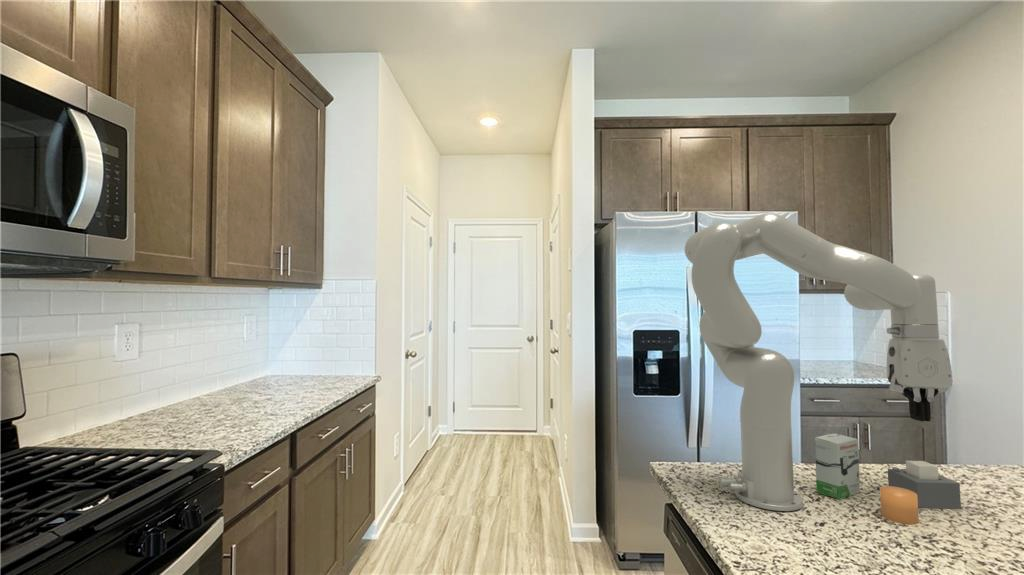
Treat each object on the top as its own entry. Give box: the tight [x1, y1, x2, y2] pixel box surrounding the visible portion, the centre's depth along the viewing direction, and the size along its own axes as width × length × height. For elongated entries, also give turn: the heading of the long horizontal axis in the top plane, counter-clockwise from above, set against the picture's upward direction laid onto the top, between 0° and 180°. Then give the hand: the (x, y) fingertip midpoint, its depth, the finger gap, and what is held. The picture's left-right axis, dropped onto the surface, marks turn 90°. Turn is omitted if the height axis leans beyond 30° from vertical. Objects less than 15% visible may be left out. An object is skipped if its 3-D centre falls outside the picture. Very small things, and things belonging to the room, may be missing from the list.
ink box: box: [814, 433, 861, 500], centre depth 100 cm, size 9×5×12 cm, turn 117°
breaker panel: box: [887, 466, 962, 510], centre depth 95 cm, size 8×8×6 cm
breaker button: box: [905, 460, 939, 480], centre depth 96 cm, size 4×4×4 cm
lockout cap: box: [879, 485, 920, 526], centre depth 87 cm, size 6×6×5 cm
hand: (920, 419), depth 96 cm, fingers closed
